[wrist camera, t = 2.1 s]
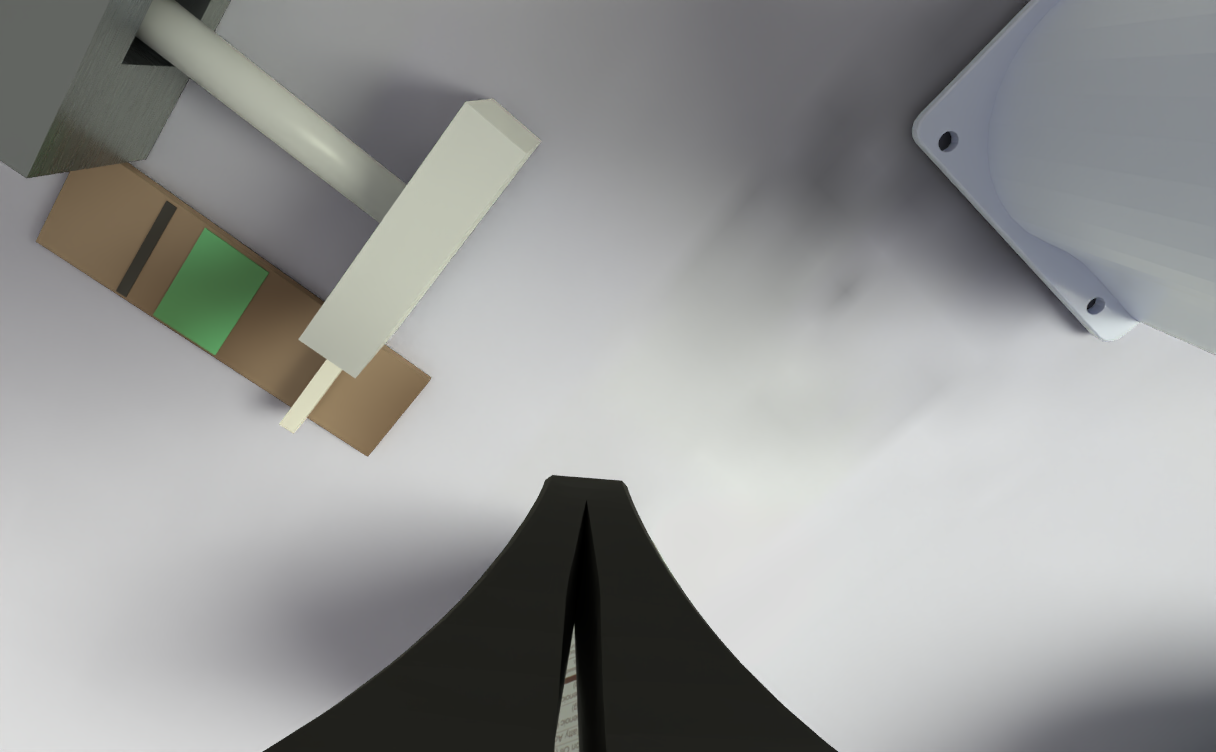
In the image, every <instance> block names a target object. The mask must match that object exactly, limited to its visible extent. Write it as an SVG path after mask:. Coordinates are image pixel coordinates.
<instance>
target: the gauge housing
mask: <svg viewBox="0 0 1216 752" xmlns="http://www.w3.org/2000/svg"><path fill="white" fill-rule="evenodd" d="M175 1H176V2H177V3H179V4H180V5H181V6H183V7H184V8H185V9H186V10H188V11H189V12H190V13H191V14H193V15H194V16H195V17H196V18H198V19H199V20H200V21H201V22H203V23H204V24H205V25H206V26H208V27H209V28H210V29H211V30H213V31H215V29H216V27H217V25H218V24H219V22H220V20H221V18H222V16H223V14H224V12H225V11H226V9H227V7H228V5H229V3H230V1H231V0H175ZM151 3H152V0H0V161H2V162H3V163H5V164H6V165H8V166H9V167H10V168H12V169H13V170H15V171H16V172H18V173H19V174H21V175H22V176H24V177H25V178H32V177H38V176H44V175H51V174H57V173H63V172H70V171H76V170H82V169H89V168H95V167H101V166H108V165H114V164H120V163H127V162H133V161H139V160H146V158H147V156H148V155H149V153H150V151H151V149H152V147H153V145H154V143H155V141H156V140H157V138H158V136H159V134H160V132H161V130H162V128H163V127H164V125H165V123H166V121H167V119H168V117H169V115H170V113H171V112H172V110H173V108H174V106H175V104H176V102H177V100H178V98H179V97H180V95H181V93H182V91H183V89H184V87H185V85H186V83H187V82H188V80H189V78H190V77H188V76H187V75H186V74H184V73H183V72H182V71H180V70H179V69H178V68H176V67H175V66H174V65H173V64H171V63H170V62H169V61H167V60H166V59H165V58H163V57H162V56H161V55H160V54H158V53H157V52H156V51H154V50H153V49H152V48H150V47H149V46H148V45H146V44H145V43H144V42H143V41H141V40H140V39H139V38H137V37H136V36H135V35H136V33H137V31H138V29H139V27H140V25H141V23H142V21H143V19H144V17H145V15H146V13H147V11H148V9H149V7H150V5H151Z"/></svg>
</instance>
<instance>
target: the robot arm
mask: <svg viewBox="0 0 1216 752" xmlns="http://www.w3.org/2000/svg"><path fill="white" fill-rule="evenodd" d="M947 131H948V132H950V135H951V137H952V138H951V143H950V145H949V146H948V148H946V149H944V150H943V151H941V150H940V148H939V146H938V144H939V139H940V137H941V136H942V135H943V134H944V133H946V132H947ZM912 137H913V139H914V141H915V142H916V144H917V145H918V146H919V147H920V148H921V149H922V150H923V151H924V152H925V153H926V155H927V156H928V157H929V158H930V159H931V160H932V161H933V162H934V163H935V164H936V165H937V167H938V168H939V169H940V170H941V171H942V172H943V173H944V174H945V175H946V176H947V177H948V179H949V180H950V181H951V182H952V183H953V184H954V185H955V186H956V187H957V188H958V189H959V191H960V192H961V193H962V194H963V195H964V196H965V197H966V198H967V199H968V200H969V201H970V203H971V204H972V205H973V206H974V207H975V208H976V209H977V210H978V211H979V212H980V213H981V215H982V216H983V217H984V218H985V219H986V220H987V221H988V222H989V223H990V224H991V225H992V227H993V228H994V229H995V230H996V231H997V232H998V233H999V234H1000V235H1001V236H1002V237H1003V239H1004V240H1005V241H1006V242H1007V243H1008V244H1009V245H1010V246H1011V247H1012V248H1013V249H1014V251H1015V252H1016V253H1017V254H1018V255H1019V256H1020V257H1021V258H1022V259H1023V260H1024V261H1025V262H1026V264H1027V265H1028V266H1029V267H1030V268H1031V269H1032V270H1033V271H1034V272H1035V273H1036V274H1037V276H1038V277H1039V278H1040V279H1041V280H1042V281H1043V282H1044V283H1045V284H1046V285H1047V286H1048V288H1049V289H1050V290H1051V291H1052V292H1053V293H1054V294H1055V295H1056V296H1057V297H1058V298H1059V300H1060V301H1061V302H1062V303H1063V304H1064V305H1065V306H1066V307H1067V308H1068V309H1069V310H1070V312H1071V313H1072V314H1073V315H1074V316H1075V317H1076V318H1077V319H1078V320H1079V321H1080V322H1081V324H1082V325H1083V326H1084V327H1085V328H1086V329H1087V330H1088V331H1089V332H1090V333H1091V334H1092V335H1093V336H1095V337H1096V338H1098V339H1100V340H1102V341H1106V342H1111V341H1115V340H1118V339H1119V338H1121V337H1123V336H1124V335H1125V334H1126V333H1128V332H1129V331H1130V330H1131V329H1133V328H1134V327H1135V326H1136V325H1138V324H1139V323H1140V322H1141V323H1144V324H1146V325H1148V326H1151V327H1153V328H1155V329H1157V330H1160V331H1162V332H1164V333H1166V334H1169V335H1171V336H1173V337H1175V338H1178V339H1180V340H1182V341H1185V342H1187V343H1189V344H1191V345H1194V346H1196V347H1198V348H1200V349H1203V350H1205V351H1207V352H1210V353H1212V354H1214V355H1216V0H1030V1H1029V2H1028V3H1027V4H1026V5H1025V6H1024V7H1023V8H1022V10H1021V11H1020V12H1019V13H1018V14H1017V15H1016V16H1015V17H1014V18H1013V19H1012V20H1011V21H1010V22H1009V23H1008V24H1007V25H1006V26H1005V27H1004V28H1003V29H1002V30H1001V31H1000V32H999V33H998V34H997V35H996V36H995V37H994V38H993V39H992V40H991V41H990V42H989V43H988V44H987V45H986V46H985V47H984V48H983V50H982V51H981V52H980V53H979V54H978V55H977V56H976V57H975V58H974V59H973V60H972V61H971V62H970V63H969V64H968V65H967V66H966V67H965V68H964V69H963V70H962V71H961V72H960V73H959V74H958V75H957V76H956V77H955V78H954V79H953V80H952V81H951V82H950V83H949V84H948V85H947V86H946V87H945V88H944V90H943V91H942V92H941V93H940V94H939V95H938V96H937V97H936V98H935V99H934V100H933V101H932V102H931V103H930V104H929V105H928V106H927V107H926V108H925V109H924V110H923V111H922V112H921V113H920V114H919V115H918V117H917V118H916V120H915V121H914V124H913V127H912ZM1094 298H1096V302H1095V304H1094V305H1093V307H1092V308H1090V309H1088V310H1087V304H1088V303H1089V302H1090V301H1091V300H1092V299H1094ZM574 628H575V657H576V684H577V711H578V737H579V752H838V751H837V750H835V749H834V748H833V747H831V746H830V745H829V744H828V743H826V742H825V741H824V740H823V739H822V738H820V737H819V736H818V735H817V734H816V733H815V732H813V731H812V730H811V729H810V728H809V727H808V726H807V725H805V724H804V723H803V722H802V721H801V720H800V719H798V718H797V717H796V716H795V715H794V714H793V713H792V712H790V711H789V710H788V709H787V708H786V707H785V706H784V705H783V704H782V703H781V702H780V701H778V700H777V699H776V698H775V697H774V696H773V695H772V694H771V693H770V692H769V691H768V690H767V689H766V688H765V687H764V686H763V685H762V684H761V683H760V682H759V681H758V680H757V679H756V678H755V677H754V676H753V675H752V674H751V673H750V672H749V671H748V670H747V669H746V668H745V667H744V666H743V665H742V664H741V663H740V661H739V660H738V659H737V658H736V657H735V656H734V655H733V654H732V652H731V651H730V650H729V649H728V648H727V647H726V646H725V644H724V643H723V642H722V641H721V640H720V639H719V637H718V636H717V635H716V634H715V632H714V631H713V630H712V629H711V628H710V626H709V625H708V624H707V623H706V621H705V620H704V619H703V618H702V616H701V615H700V614H699V612H698V611H697V610H696V608H695V607H694V606H693V604H692V603H691V601H690V600H689V599H688V597H687V596H686V594H685V593H684V591H683V590H682V588H681V587H680V586H679V584H678V583H677V581H676V580H675V578H674V577H673V575H672V573H671V572H670V570H669V569H668V567H667V566H666V564H665V562H664V561H663V559H662V557H661V555H660V554H659V552H658V550H657V549H656V547H655V545H654V543H653V542H652V540H651V538H650V536H649V534H648V533H647V531H646V529H645V527H644V525H643V523H642V521H641V519H640V517H639V515H638V513H637V510H636V508H635V506H634V504H633V501H632V499H631V496H630V494H629V491H628V488H627V486H626V485H625V484H624V483H623V482H622V481H619V480H606V479H593V478H581V477H568V476H556V475H552V476H550V477H549V478H548V479H546V480H545V482H544V485H543V488H542V490H541V492H540V494H539V496H538V498H537V500H536V501H535V503H534V505H533V507H532V508H531V510H530V512H529V513H528V515H527V516H526V518H525V520H524V521H523V523H522V524H521V525H520V527H519V528H518V530H517V531H516V533H515V534H514V536H513V537H512V538H511V540H510V541H509V543H508V544H507V546H506V547H505V548H504V550H503V551H502V552H501V553H500V555H499V556H498V557H497V558H496V559H495V561H494V562H493V563H492V564H491V566H490V567H489V568H488V569H487V571H486V572H485V573H484V574H483V575H482V577H481V578H480V579H479V580H478V581H477V583H476V584H475V585H474V586H473V587H472V588H471V589H470V590H469V591H468V592H467V594H466V595H465V596H464V597H463V598H462V599H461V600H460V601H459V602H458V603H457V604H456V605H455V606H454V607H453V608H452V609H451V610H450V611H449V612H448V613H447V614H446V615H445V616H444V617H443V618H442V619H441V620H440V621H439V622H438V623H437V624H436V625H435V626H433V627H432V628H431V629H430V630H429V631H428V632H427V633H426V634H425V635H424V636H422V637H421V638H420V639H419V640H418V641H417V642H416V643H415V644H414V645H412V646H411V647H410V648H409V649H408V650H407V651H405V652H404V653H403V654H402V655H401V656H400V657H398V658H397V659H396V660H395V661H393V662H392V663H391V664H390V665H389V666H387V667H386V668H385V669H383V670H382V671H381V672H379V673H378V674H377V675H375V676H374V677H373V678H371V679H370V680H369V681H367V682H366V683H365V684H363V685H362V686H361V687H359V688H358V689H357V690H355V691H354V692H353V693H351V694H350V695H349V696H347V697H346V698H345V699H343V700H342V701H341V702H339V703H338V704H336V705H335V706H333V707H332V708H331V709H329V710H328V711H326V712H325V713H323V714H322V715H320V716H319V717H317V718H316V719H314V720H312V721H311V722H309V723H308V724H306V725H304V726H303V727H301V728H300V729H298V730H296V731H295V732H293V733H292V734H290V735H289V736H287V737H285V738H284V739H282V740H281V741H279V742H277V743H276V744H274V745H273V746H271V747H270V748H268V749H266V750H265V751H263V752H554V751H555V737H556V731H557V725H558V719H559V713H560V707H561V701H562V695H563V689H564V683H565V677H566V671H567V665H568V659H569V653H570V647H571V641H572V635H573V629H574Z"/></svg>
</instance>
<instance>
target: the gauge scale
mask: <svg viewBox="0 0 1216 752" xmlns="http://www.w3.org/2000/svg"><path fill="white" fill-rule="evenodd" d="M36 242H37V243H39V244H40V245H42V246H43V247H45V248H46V249H48V250H50V251H51V252H53V253H54V254H56V255H57V256H59V257H60V258H62V259H63V260H65V261H67V262H68V263H70V264H71V265H73V266H74V267H76V268H77V269H79V270H80V271H82V272H83V273H85V274H87V275H88V276H90V277H91V278H93V279H94V280H96V281H97V282H99V283H100V284H102V285H104V286H105V287H107V288H108V289H110V290H111V291H113V292H114V293H116V294H117V295H119V296H120V297H122V298H124V299H125V300H127V301H128V302H130V303H131V304H133V305H134V306H136V307H137V308H139V309H141V310H142V311H144V312H145V313H147V314H148V315H150V316H151V317H153V318H154V319H156V320H157V321H159V322H161V323H162V324H164V325H165V326H167V327H168V328H170V329H171V330H173V331H174V332H176V333H178V334H179V335H181V336H182V337H184V338H185V339H187V340H188V341H190V342H191V343H193V344H195V345H196V346H198V347H199V348H201V349H202V350H204V351H205V352H207V353H208V354H210V355H211V356H213V357H215V358H216V359H218V360H219V361H221V362H222V363H224V364H225V365H227V366H228V367H230V368H232V369H233V370H235V371H236V372H238V373H239V374H241V375H242V376H244V377H245V378H247V379H248V380H250V381H252V382H253V383H255V384H256V385H258V386H259V387H261V388H262V389H264V390H265V391H267V392H269V393H270V394H272V395H273V396H275V397H276V398H278V399H279V400H281V401H282V402H284V403H285V404H287V405H289V406H290V407H292V406H293V405H294V403H295V402H296V401H297V399H298V398H299V396H300V395H301V394H302V392H303V391H304V390H305V388H306V387H307V385H308V384H309V383H310V381H311V380H312V379H313V377H314V376H315V375H316V373H317V372H318V370H319V369H320V368H321V366H322V365H323V364H324V362H325V361H326V360H327V359H326V358H324V357H323V356H322V355H320V354H319V353H317V352H316V351H314V350H313V349H311V348H310V347H308V346H307V345H305V344H304V343H302V342H301V341H300V340H298V339H299V338H300V336H301V335H302V334H303V332H304V331H305V329H306V328H307V326H308V325H309V324H310V322H311V321H312V319H313V318H314V316H315V315H316V314H317V312H318V311H319V309H320V308H321V307H322V305H323V304H324V301H322V300H321V299H320V298H318V297H317V296H315V295H314V294H313V293H311V292H310V291H308V290H307V289H306V288H304V287H303V286H301V285H300V284H299V283H297V282H296V281H294V280H293V279H291V278H290V277H289V276H287V275H286V274H284V273H283V272H282V271H280V270H279V269H277V268H276V267H275V266H273V265H272V264H270V263H269V262H267V261H266V260H265V259H263V258H262V257H260V256H259V255H258V254H256V253H255V252H253V251H252V250H251V249H249V248H248V247H246V246H245V245H243V244H242V243H241V242H239V241H238V240H236V239H235V238H234V237H232V236H231V235H229V234H228V233H227V232H225V231H224V230H222V229H221V228H219V227H218V226H217V225H215V224H214V223H212V222H211V221H210V220H208V219H207V218H205V217H204V216H203V215H201V214H200V213H198V212H197V211H196V210H194V209H193V208H191V207H190V206H188V205H187V204H186V203H184V202H183V201H181V200H180V199H179V198H177V197H176V196H174V195H173V194H172V193H170V192H169V191H167V190H166V189H164V188H163V187H162V186H160V185H159V184H157V183H156V182H155V181H153V180H152V179H150V178H149V177H148V176H146V175H145V174H143V173H142V172H140V171H139V170H138V169H136V168H135V167H133V166H132V165H131V164H129V163H128V162H127V163H120V164H114V165H108V166H101V167H95V168H89V169H82V170H76V171H70V173H69V175H68V177H67V179H66V181H65V183H64V185H63V187H62V189H61V191H60V193H59V195H58V197H57V199H56V201H55V203H54V205H53V207H52V209H51V211H50V213H49V215H48V217H47V220H46V222H45V224H44V226H43V228H42V230H41V232H40V234H39V236H38V238H37V240H36ZM430 379H431V377H430V376H428V375H427V374H425V373H424V372H423V371H421V370H420V369H418V368H417V367H416V366H414V365H413V364H411V363H410V362H409V361H407V360H406V359H404V358H403V357H402V356H400V355H399V354H397V353H396V352H394V351H393V350H392V349H390V348H389V347H387V346H386V345H385V344H384V346H383V347H382V348H381V349H380V350H379V351H378V353H377V354H376V355H375V356H374V357H373V358H372V360H371V361H370V362H369V363H368V364H367V365H366V367H365V368H364V369H363V370H362V371H361V372H360V374H359V375H358V376H357V377H356V378H354V377H352V376H351V375H349V374H348V373H346V372H345V371H343V370H342V371H341V373H340V374H339V375H338V377H337V378H336V379H335V381H334V382H333V383H332V385H331V386H330V387H329V389H328V390H327V391H326V393H325V394H324V395H323V397H322V398H321V400H320V401H319V402H318V404H317V405H316V406H315V408H314V409H313V410H312V412H311V413H310V414H309V416H308V417H307V418H309V419H310V420H312V421H313V422H315V423H316V424H318V425H319V426H321V427H322V428H324V429H326V430H327V431H329V432H330V433H332V434H333V435H335V436H336V437H338V438H339V439H341V440H343V441H344V442H346V443H347V444H349V445H350V446H352V447H353V448H355V449H356V450H358V451H359V452H361V453H363V454H364V455H366V456H367V457H368V456H369V455H370V453H371V452H372V451H373V450H374V449H375V447H376V446H377V445H378V444H379V442H380V441H381V440H382V439H383V437H384V436H385V435H386V434H387V433H388V431H389V430H390V429H391V428H392V426H393V425H394V424H395V423H396V422H397V420H398V419H399V418H400V417H401V415H402V414H403V413H404V412H405V410H406V409H407V408H408V407H409V406H410V404H411V403H412V402H413V401H414V399H415V398H416V397H417V396H418V395H419V393H420V392H421V391H422V390H423V388H424V387H425V386H426V385H427V383H428V382H429V381H430Z"/></svg>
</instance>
